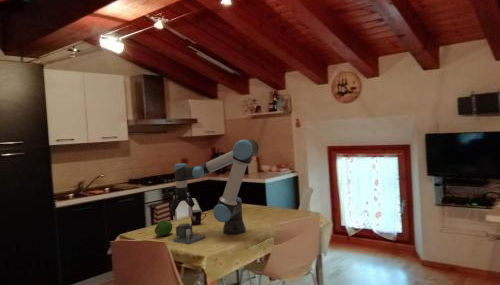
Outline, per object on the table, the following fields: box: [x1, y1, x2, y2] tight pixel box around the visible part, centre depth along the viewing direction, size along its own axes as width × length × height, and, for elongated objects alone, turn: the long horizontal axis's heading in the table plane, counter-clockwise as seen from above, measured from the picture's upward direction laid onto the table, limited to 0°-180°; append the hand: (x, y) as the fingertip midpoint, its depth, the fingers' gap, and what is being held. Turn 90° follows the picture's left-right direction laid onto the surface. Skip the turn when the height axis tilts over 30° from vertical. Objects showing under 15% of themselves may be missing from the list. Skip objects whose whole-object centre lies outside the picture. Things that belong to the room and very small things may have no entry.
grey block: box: [175, 223, 194, 237], centre depth 252 cm, size 8×8×7 cm
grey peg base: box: [172, 229, 206, 245], centre depth 241 cm, size 14×14×6 cm
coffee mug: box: [190, 209, 207, 226], centre depth 280 cm, size 12×9×10 cm
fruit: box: [154, 219, 173, 236], centre depth 254 cm, size 15×10×10 cm, turn 157°
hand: (183, 218), depth 252 cm, fingers open, 13 cm apart
